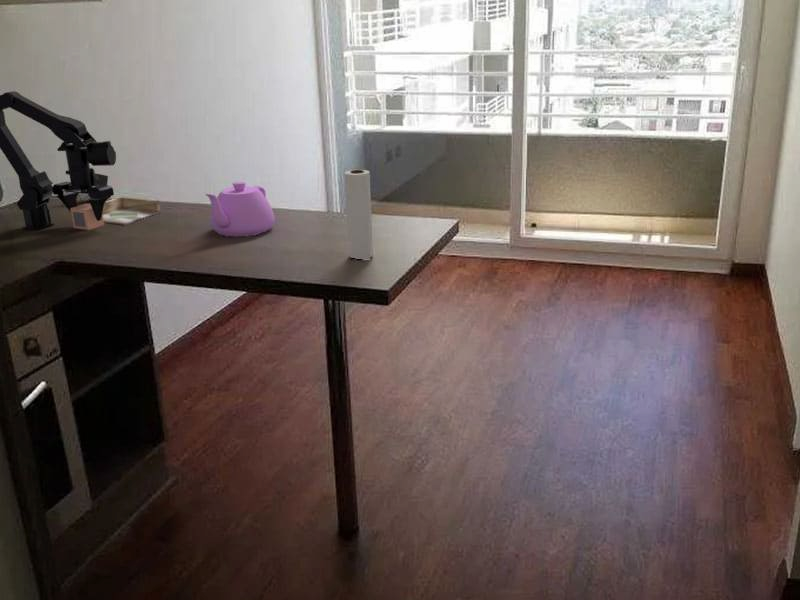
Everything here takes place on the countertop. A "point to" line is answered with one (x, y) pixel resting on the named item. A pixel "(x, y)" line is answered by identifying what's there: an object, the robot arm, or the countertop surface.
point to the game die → (84, 196)
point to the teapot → (241, 211)
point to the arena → (129, 210)
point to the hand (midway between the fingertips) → (87, 219)
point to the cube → (85, 217)
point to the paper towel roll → (359, 213)
